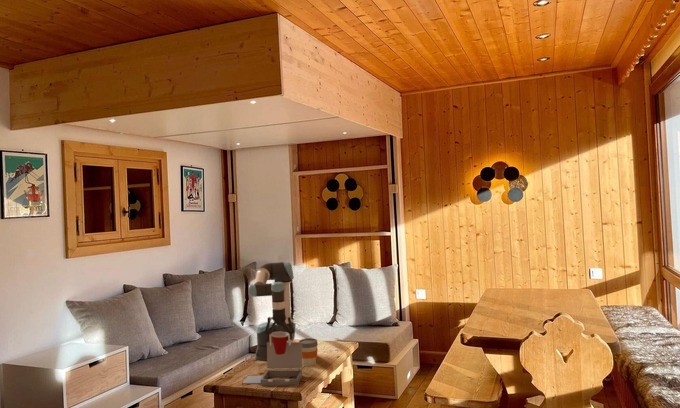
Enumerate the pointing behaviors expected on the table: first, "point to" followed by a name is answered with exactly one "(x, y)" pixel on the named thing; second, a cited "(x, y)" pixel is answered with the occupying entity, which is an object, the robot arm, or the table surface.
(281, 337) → the plastic cup
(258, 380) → the mat
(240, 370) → the table surface
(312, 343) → the reusable coffee cup
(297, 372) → the case
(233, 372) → the table surface
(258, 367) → the table surface
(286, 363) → the lid
